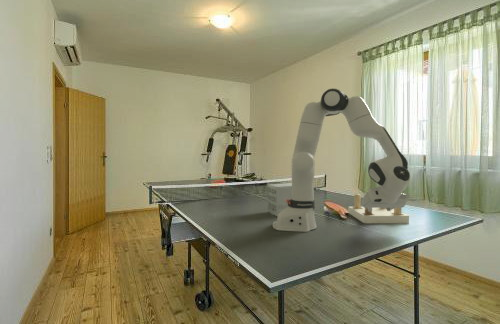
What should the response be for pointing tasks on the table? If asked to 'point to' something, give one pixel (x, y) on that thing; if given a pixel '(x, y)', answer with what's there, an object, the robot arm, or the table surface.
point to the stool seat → (377, 213)
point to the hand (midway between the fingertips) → (378, 210)
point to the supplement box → (278, 197)
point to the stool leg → (368, 212)
